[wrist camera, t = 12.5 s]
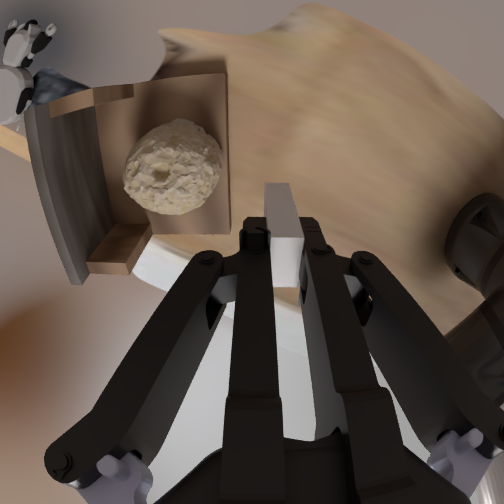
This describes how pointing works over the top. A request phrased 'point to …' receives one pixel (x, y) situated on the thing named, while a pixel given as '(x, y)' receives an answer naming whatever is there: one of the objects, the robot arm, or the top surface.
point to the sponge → (173, 168)
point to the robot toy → (20, 68)
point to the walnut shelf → (119, 168)
